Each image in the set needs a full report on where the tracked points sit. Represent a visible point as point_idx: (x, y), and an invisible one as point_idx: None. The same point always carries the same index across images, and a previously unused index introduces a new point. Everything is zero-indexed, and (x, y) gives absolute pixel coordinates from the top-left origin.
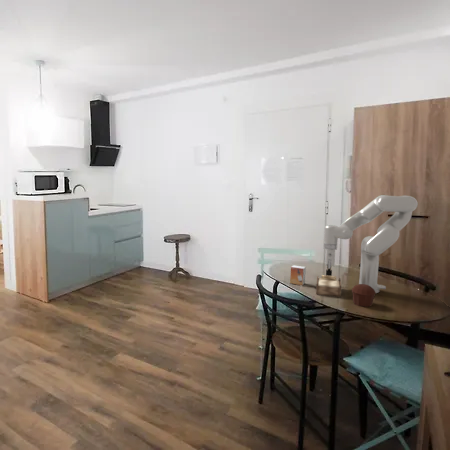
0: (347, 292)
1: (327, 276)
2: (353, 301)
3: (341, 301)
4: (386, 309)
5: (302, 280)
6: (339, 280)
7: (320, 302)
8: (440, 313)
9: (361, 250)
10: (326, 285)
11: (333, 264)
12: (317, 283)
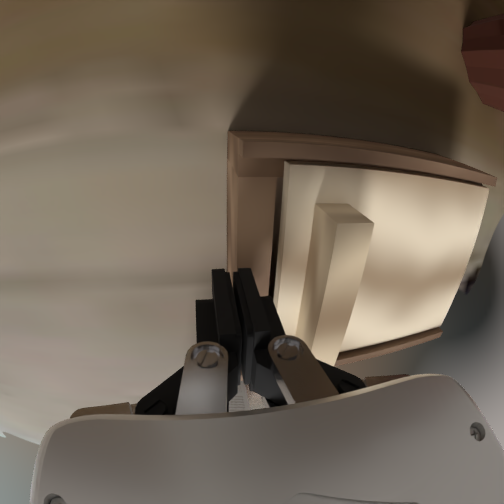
0: (332, 74)
1: (346, 319)
2: (488, 105)
3: (481, 165)
4: (500, 3)
5: (249, 405)
6: (361, 163)
7: (480, 260)
8: None
9: None
10: (460, 278)
11: (474, 407)
12: (438, 334)
